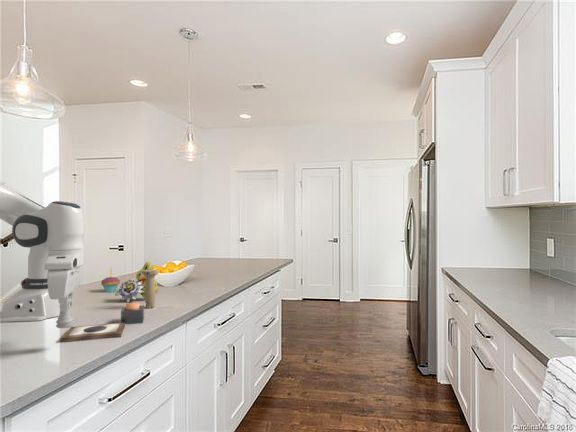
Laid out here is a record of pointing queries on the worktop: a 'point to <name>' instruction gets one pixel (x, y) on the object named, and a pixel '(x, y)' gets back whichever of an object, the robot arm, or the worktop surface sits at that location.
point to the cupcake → (110, 283)
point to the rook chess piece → (65, 318)
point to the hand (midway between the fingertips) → (66, 308)
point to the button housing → (132, 315)
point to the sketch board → (93, 332)
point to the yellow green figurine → (143, 278)
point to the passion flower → (131, 290)
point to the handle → (150, 287)
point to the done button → (132, 306)
